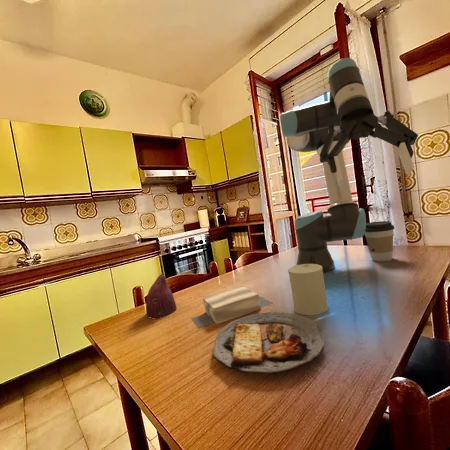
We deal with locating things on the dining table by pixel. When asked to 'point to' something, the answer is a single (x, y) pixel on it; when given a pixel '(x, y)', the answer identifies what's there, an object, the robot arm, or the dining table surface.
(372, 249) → the coffee cup
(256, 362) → the food plate
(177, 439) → the dining table surface
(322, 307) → the can
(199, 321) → the mat
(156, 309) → the vegetable
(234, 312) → the beige wavy block
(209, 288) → the dining table surface
